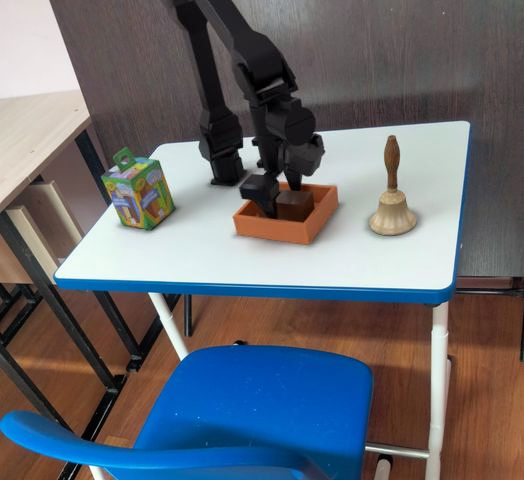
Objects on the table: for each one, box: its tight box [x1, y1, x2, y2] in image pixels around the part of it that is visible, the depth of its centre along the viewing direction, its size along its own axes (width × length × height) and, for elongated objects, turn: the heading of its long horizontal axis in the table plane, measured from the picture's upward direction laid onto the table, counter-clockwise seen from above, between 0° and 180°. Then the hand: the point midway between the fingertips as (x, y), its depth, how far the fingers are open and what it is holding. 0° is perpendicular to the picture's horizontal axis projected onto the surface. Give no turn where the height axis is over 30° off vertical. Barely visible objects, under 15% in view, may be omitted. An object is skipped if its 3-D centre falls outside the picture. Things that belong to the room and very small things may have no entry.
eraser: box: [257, 189, 315, 223], centre depth 101 cm, size 10×4×4 cm, turn 61°
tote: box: [232, 180, 340, 246], centre depth 101 cm, size 16×14×4 cm
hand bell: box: [369, 134, 418, 236], centre depth 90 cm, size 8×8×16 cm
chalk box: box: [100, 146, 177, 231], centre depth 110 cm, size 9×9×15 cm
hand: (286, 208), depth 101 cm, fingers open, 9 cm apart
